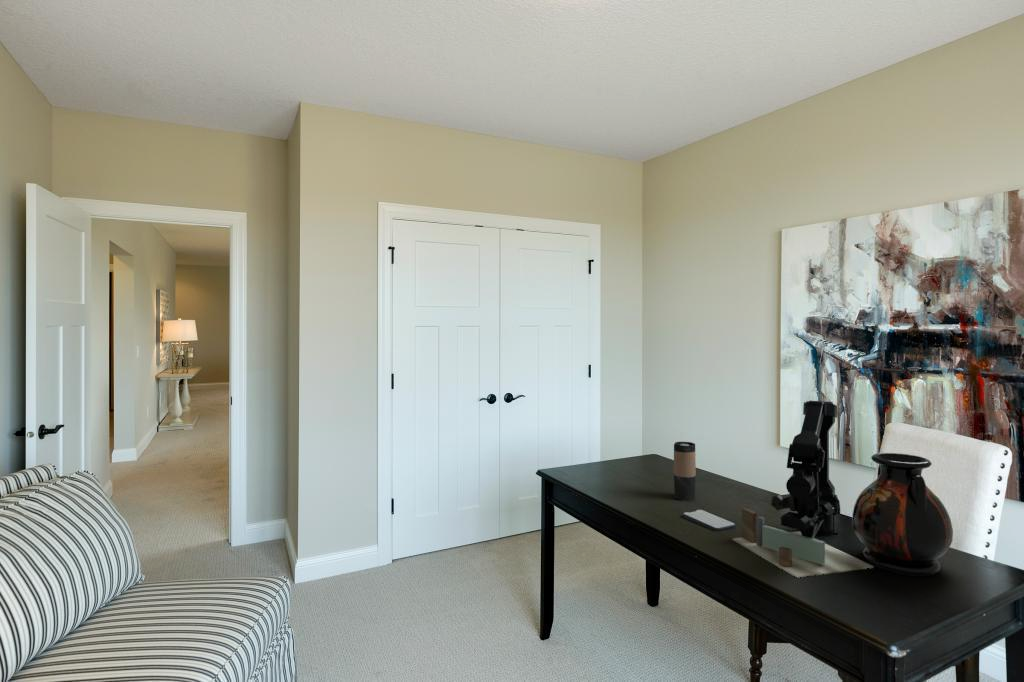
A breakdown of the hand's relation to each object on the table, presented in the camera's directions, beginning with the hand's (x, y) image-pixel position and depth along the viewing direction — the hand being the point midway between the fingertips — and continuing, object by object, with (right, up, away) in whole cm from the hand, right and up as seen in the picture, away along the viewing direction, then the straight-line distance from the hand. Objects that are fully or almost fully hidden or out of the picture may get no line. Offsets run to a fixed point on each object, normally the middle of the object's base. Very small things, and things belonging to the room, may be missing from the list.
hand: (807, 545), depth 150 cm
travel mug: (-16, -3, +55) cm, 57 cm away
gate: (-4, -3, +2) cm, 5 cm away
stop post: (-8, -4, -5) cm, 10 cm away
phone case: (-16, -4, +30) cm, 34 cm away
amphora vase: (+22, -4, -4) cm, 23 cm away
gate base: (0, -4, +4) cm, 5 cm away
